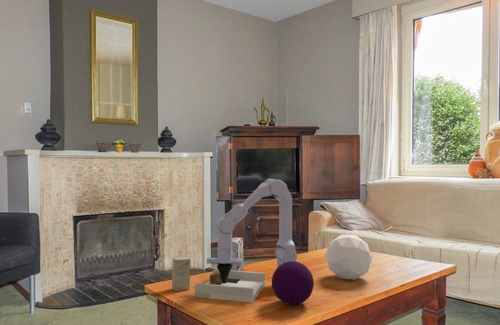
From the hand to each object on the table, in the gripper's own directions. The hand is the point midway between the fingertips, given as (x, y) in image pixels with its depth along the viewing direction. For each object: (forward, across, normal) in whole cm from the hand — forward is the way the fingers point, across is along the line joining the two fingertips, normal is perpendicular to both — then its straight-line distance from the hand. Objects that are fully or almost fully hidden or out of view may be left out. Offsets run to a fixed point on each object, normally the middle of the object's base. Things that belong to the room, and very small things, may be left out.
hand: (224, 282), depth 164 cm
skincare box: (+3, -17, -3) cm, 18 cm away
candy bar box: (+3, -1, +19) cm, 19 cm away
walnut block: (+1, -4, 0) cm, 4 cm away
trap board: (+3, +3, 0) cm, 4 cm away
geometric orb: (+3, +47, +31) cm, 56 cm away
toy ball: (+3, +28, -8) cm, 29 cm away
